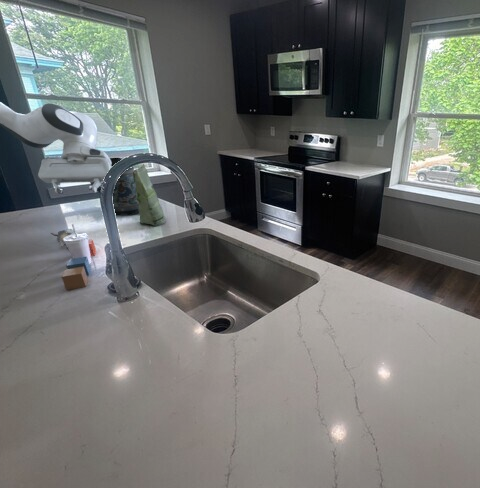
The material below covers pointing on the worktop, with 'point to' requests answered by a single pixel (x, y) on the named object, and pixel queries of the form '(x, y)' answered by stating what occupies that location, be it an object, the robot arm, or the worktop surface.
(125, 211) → the beer stein
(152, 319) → the worktop surface
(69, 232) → the eagle figurine
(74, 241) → the smoothie
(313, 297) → the worktop surface
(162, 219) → the pouch
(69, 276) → the block row
